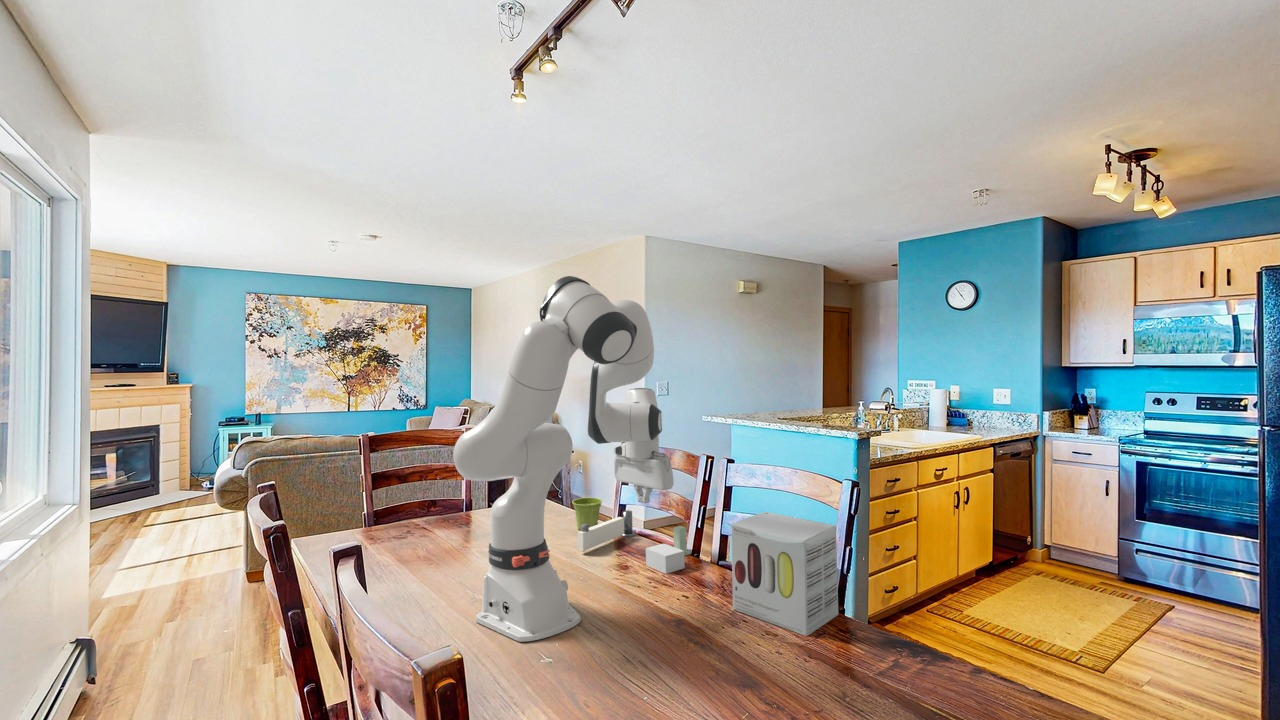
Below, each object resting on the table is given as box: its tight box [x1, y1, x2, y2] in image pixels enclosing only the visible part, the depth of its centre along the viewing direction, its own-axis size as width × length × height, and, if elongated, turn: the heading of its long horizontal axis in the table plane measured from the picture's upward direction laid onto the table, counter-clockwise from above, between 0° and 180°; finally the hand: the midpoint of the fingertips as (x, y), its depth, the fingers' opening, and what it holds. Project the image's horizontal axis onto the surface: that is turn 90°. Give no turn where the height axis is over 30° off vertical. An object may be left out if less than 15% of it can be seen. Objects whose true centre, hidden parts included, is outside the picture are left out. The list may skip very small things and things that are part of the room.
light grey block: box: [645, 543, 685, 575], centre depth 147 cm, size 8×6×4 cm
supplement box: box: [731, 511, 839, 637], centre depth 118 cm, size 17×13×18 cm
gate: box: [576, 516, 624, 552], centre depth 164 cm, size 18×2×6 cm, turn 144°
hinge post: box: [620, 509, 636, 538], centre depth 174 cm, size 4×4×7 cm
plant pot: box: [571, 497, 603, 531], centre depth 182 cm, size 9×9×9 cm
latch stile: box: [672, 525, 692, 557], centre depth 157 cm, size 6×4×7 cm
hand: (643, 502), depth 153 cm, fingers closed
